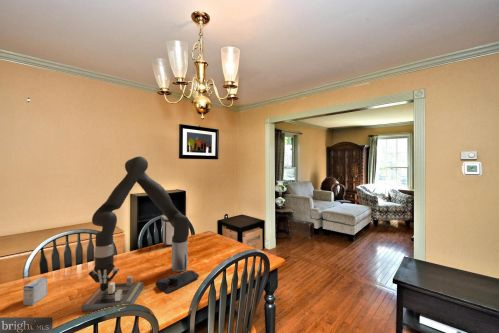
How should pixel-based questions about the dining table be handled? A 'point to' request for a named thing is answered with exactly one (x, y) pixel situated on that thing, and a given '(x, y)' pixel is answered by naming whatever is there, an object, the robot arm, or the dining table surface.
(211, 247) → the dining table surface
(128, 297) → the breaker panel
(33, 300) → the medicine box
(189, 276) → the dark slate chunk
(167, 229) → the coffee press
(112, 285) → the handle
